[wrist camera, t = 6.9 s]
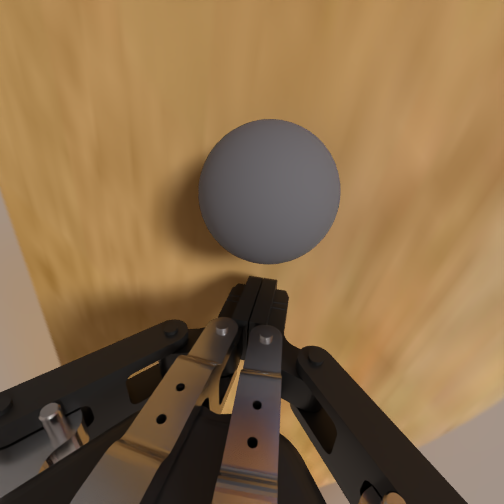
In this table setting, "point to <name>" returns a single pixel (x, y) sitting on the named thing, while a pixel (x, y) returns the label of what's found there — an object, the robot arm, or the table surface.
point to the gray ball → (269, 191)
